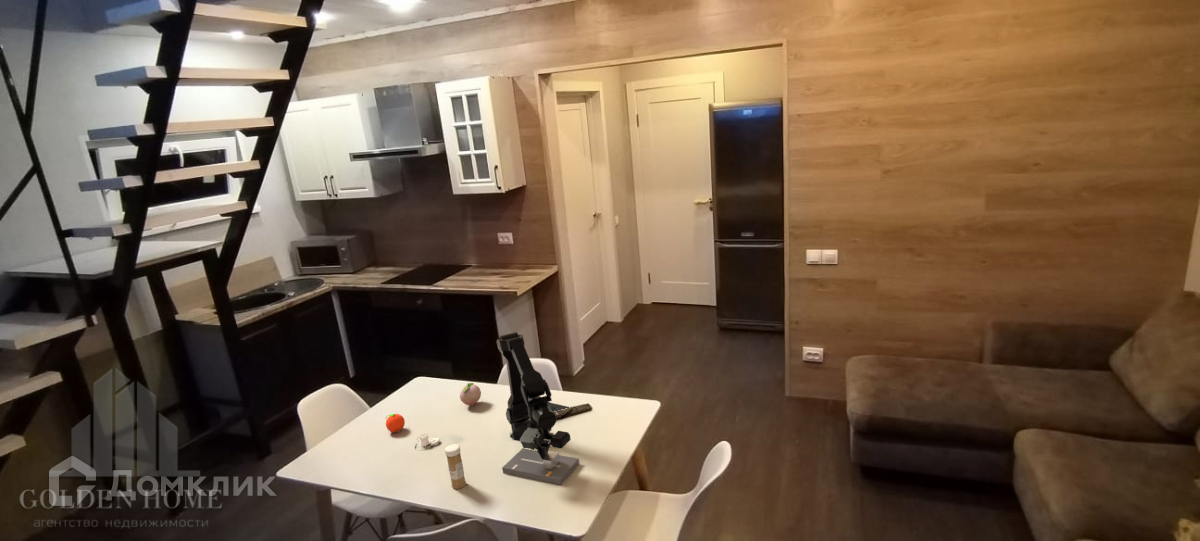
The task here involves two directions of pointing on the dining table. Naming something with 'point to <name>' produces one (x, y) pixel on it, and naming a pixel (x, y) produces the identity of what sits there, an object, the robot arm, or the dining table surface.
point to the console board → (540, 467)
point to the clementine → (395, 422)
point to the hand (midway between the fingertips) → (544, 459)
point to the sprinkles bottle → (455, 466)
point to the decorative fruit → (470, 394)
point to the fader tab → (551, 460)
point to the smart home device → (555, 406)
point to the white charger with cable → (427, 440)
